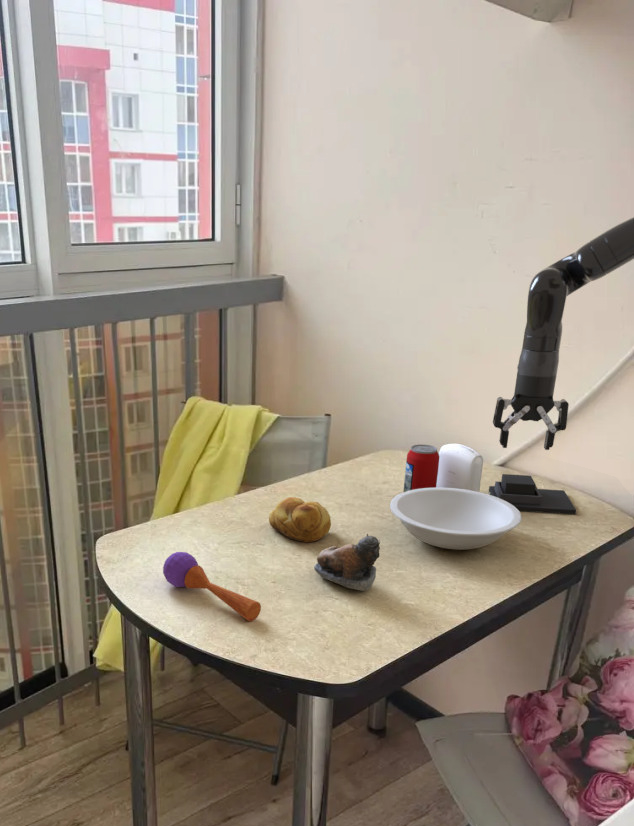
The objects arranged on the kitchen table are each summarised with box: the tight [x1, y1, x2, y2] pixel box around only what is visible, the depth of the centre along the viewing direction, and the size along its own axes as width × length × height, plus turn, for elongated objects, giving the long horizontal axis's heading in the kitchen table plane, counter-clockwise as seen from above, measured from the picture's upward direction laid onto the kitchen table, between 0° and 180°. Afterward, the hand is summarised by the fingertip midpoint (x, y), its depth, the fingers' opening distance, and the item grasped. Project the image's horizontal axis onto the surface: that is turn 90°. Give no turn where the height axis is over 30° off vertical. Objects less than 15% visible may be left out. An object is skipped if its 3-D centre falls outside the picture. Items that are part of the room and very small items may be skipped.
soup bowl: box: [389, 487, 523, 551], centre depth 147 cm, size 24×24×7 cm
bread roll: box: [268, 496, 332, 543], centre depth 150 cm, size 13×10×8 cm
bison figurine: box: [313, 533, 381, 592], centre depth 130 cm, size 12×7×10 cm, turn 44°
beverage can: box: [402, 444, 440, 493], centre depth 165 cm, size 7×7×12 cm
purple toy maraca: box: [162, 551, 262, 622], centre depth 126 cm, size 6×6×20 cm
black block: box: [500, 473, 537, 496], centre depth 167 cm, size 6×6×4 cm
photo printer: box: [436, 443, 484, 492], centre depth 166 cm, size 10×4×12 cm, turn 32°
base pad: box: [488, 481, 577, 515], centre depth 167 cm, size 16×12×3 cm
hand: (525, 447), depth 163 cm, fingers open, 8 cm apart
